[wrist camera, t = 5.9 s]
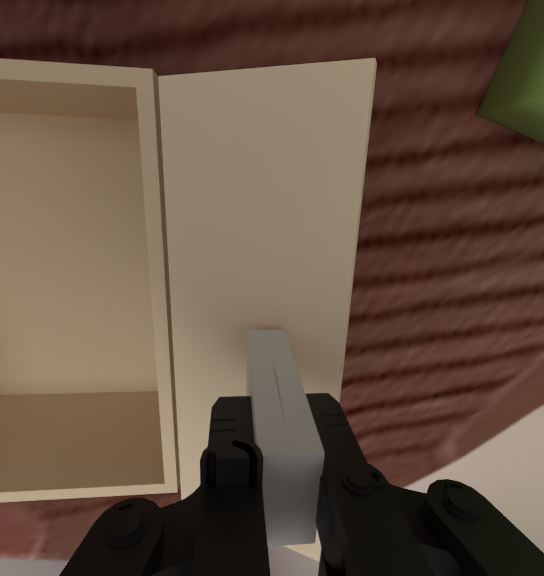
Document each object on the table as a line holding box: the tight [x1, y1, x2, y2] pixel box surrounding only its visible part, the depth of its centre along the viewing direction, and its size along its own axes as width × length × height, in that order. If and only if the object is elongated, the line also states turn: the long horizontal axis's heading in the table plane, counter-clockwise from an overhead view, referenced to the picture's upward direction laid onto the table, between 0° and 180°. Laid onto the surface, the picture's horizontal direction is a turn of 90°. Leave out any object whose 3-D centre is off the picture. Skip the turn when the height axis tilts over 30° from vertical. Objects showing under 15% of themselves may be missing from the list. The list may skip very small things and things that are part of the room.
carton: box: [0, 59, 180, 502], centre depth 21 cm, size 22×21×10 cm
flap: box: [158, 58, 377, 562], centre depth 15 cm, size 21×1×8 cm
